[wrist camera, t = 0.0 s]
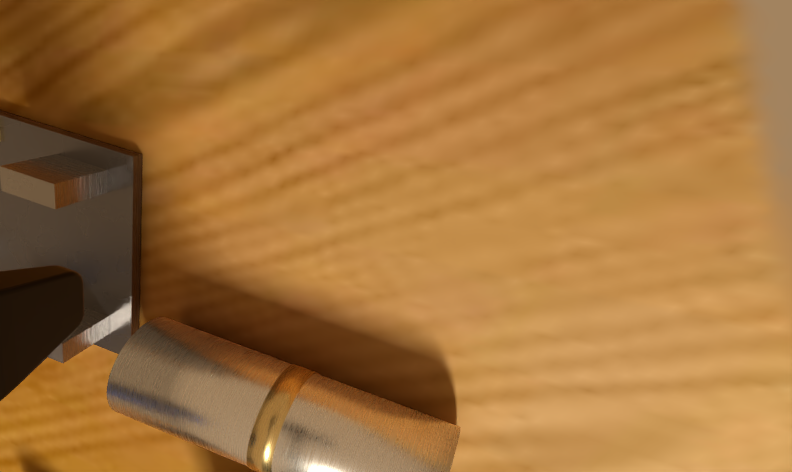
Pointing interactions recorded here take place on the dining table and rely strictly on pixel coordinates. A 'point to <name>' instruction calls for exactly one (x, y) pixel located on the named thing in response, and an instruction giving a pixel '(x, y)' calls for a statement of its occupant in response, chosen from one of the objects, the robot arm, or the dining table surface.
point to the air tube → (268, 408)
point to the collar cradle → (74, 222)
